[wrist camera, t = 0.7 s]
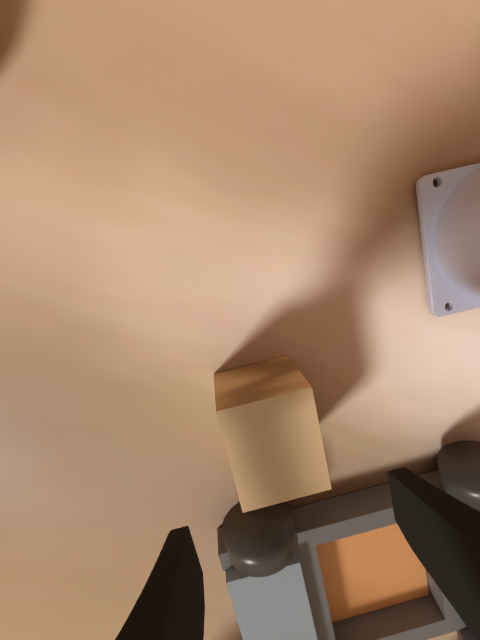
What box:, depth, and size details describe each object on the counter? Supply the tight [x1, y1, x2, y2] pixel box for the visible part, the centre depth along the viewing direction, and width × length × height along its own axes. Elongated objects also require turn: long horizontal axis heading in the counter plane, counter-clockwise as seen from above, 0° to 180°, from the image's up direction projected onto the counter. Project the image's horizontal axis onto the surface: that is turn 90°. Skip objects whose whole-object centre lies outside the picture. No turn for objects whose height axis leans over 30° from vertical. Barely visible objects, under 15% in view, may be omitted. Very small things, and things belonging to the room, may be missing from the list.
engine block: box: [214, 355, 332, 513], centre depth 19 cm, size 4×6×5 cm
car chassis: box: [217, 441, 480, 640], centre depth 22 cm, size 19×14×4 cm
